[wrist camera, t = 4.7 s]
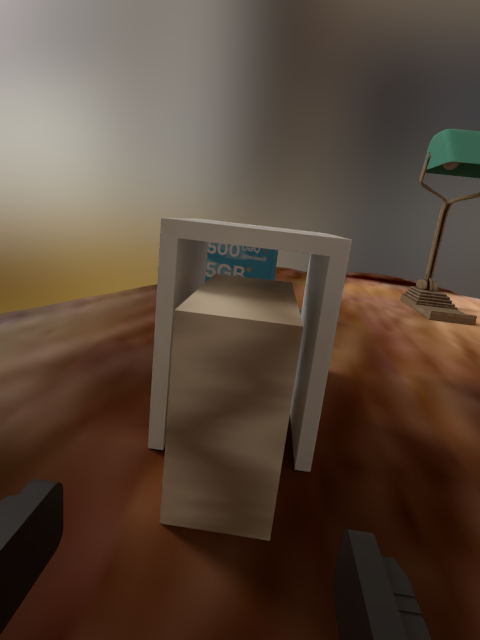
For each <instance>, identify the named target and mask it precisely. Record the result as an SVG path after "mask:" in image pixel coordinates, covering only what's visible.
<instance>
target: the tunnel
mask: <svg viewBox="0 0 480 640" xmlns="http://www.w3.org/2000/svg"><path fill="white" fill-rule="evenodd" d="M208 242H215V243H223V244H231V245H240V246H248V247H257V248H265V249H274V250H283V251H292V252H299V253H308V254H310V260H309V267H308V273H307V279H306V286H305V292H304V299H303V305H302V312H301V319H302V323H303V333H302V339H301V345H300V352H299V358H298V365H297V371H296V377H295V384H294V390H293V396H292V403H291V409H290V419H291V431H292V444H293V456H294V469H295V470H300V471H307V472H310V471H311V466H312V460H313V454H314V449H315V443H316V438H317V432H318V427H319V421H320V415H321V410H322V404H323V399H324V393H325V387H326V382H327V376H328V371H329V365H330V359H331V354H332V348H333V343H334V337H335V332H336V326H337V320H338V315H339V309H340V304H341V298H342V292H343V287H344V281H345V276H346V269H347V264H348V259H349V253H350V248H351V242H352V240H351V239H347V238H343V237H339V236H335V235H331V234H327V233H319V232H310V231H301V230H292V229H284V228H276V227H267V226H258V225H249V224H241V223H232V222H223V221H215V220H206V219H194V218H192V219H191V218H161V233H160V250H159V267H158V284H157V302H156V319H155V336H154V353H153V371H152V388H151V405H150V422H149V440H148V448H152V449H159V450H163V449H164V447H165V442H166V428H167V414H168V400H169V385H170V371H171V357H172V343H173V329H174V314H175V309H176V308H178V307H179V306H180V305H181V304H182V303H183V302H184V301H185V300H186V299H188V298H189V297H190V296H191V295H192V294H193V293H194V292H195V291H196V290H198V289H199V288H200V287H201V286H202V285H203V284H204V283H205V274H206V263H207V252H208Z"/></svg>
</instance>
